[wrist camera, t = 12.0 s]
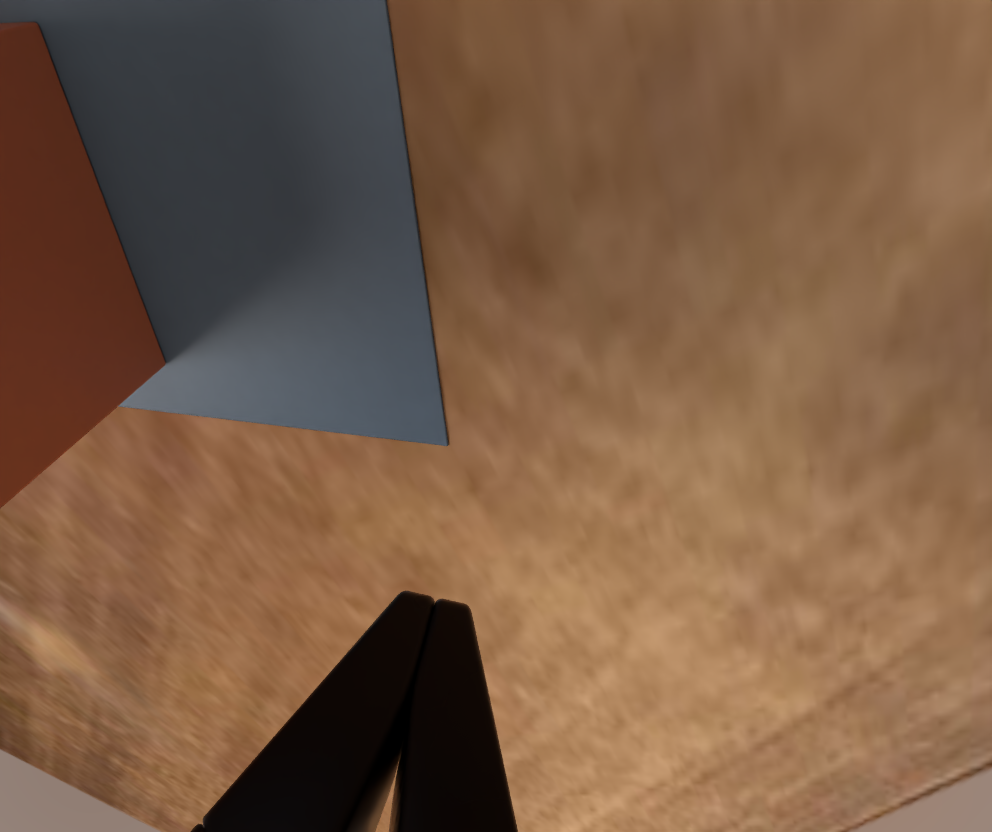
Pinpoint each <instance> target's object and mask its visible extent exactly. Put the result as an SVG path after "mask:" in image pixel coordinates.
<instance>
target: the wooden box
mask: <svg viewBox="0 0 992 832" xmlns="http://www.w3.org/2000/svg"><path fill="white" fill-rule="evenodd" d="M165 364H166V362H165V360H164V357H163V354H162V352H161V349H160V346H159V344H158V341H157V338H156V336H155V333H154V330H153V328H152V325H151V322H150V320H149V317H148V314H147V312H146V309H145V307H144V304H143V301H142V299H141V296H140V293H139V291H138V288H137V285H136V283H135V280H134V277H133V275H132V272H131V269H130V267H129V264H128V261H127V259H126V256H125V253H124V251H123V248H122V245H121V243H120V240H119V237H118V235H117V232H116V229H115V227H114V224H113V222H112V219H111V216H110V214H109V211H108V208H107V206H106V203H105V200H104V198H103V195H102V192H101V190H100V187H99V184H98V182H97V179H96V176H95V174H94V171H93V168H92V166H91V163H90V160H89V158H88V155H87V152H86V150H85V147H84V145H83V142H82V139H81V137H80V134H79V131H78V129H77V126H76V123H75V121H74V118H73V115H72V113H71V110H70V107H69V105H68V102H67V99H66V97H65V94H64V91H63V89H62V86H61V83H60V81H59V78H58V75H57V73H56V70H55V67H54V65H53V62H52V60H51V57H50V54H49V52H48V49H47V46H46V44H45V41H44V38H43V36H42V33H41V30H40V28H39V25H38V24H37V23H35V22H18V23H0V508H1V507H2V506H4V505H5V504H6V503H7V502H8V501H9V500H11V499H12V498H13V497H14V496H15V495H16V494H17V493H19V492H20V491H21V490H22V489H23V488H24V487H26V486H27V485H28V484H29V483H30V482H31V481H32V480H34V479H35V478H36V477H37V476H38V475H39V474H40V473H42V472H43V471H44V470H45V469H46V468H47V467H49V466H50V465H51V464H52V463H53V462H54V461H55V460H57V459H58V458H59V457H60V456H61V455H62V454H64V453H65V452H66V451H67V450H68V449H69V448H70V447H72V446H73V445H74V444H75V443H76V442H77V441H79V440H80V439H81V438H82V437H83V436H84V435H85V434H87V433H88V432H89V431H90V430H91V429H92V428H93V427H95V426H96V425H97V424H98V423H99V422H100V421H102V420H103V419H104V418H105V417H106V416H107V415H108V414H110V413H111V412H112V411H113V410H114V409H115V408H117V407H118V406H119V405H120V404H121V403H122V402H123V401H125V400H126V399H127V398H128V397H129V396H130V395H132V394H133V393H134V392H135V391H136V390H137V389H138V388H140V387H141V386H142V385H143V384H144V383H145V382H147V381H148V380H149V379H150V378H151V377H152V376H153V375H155V374H156V373H157V372H158V371H159V370H160V369H161V368H163V367H164V366H165Z"/></svg>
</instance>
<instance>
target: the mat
mask: <svg viewBox="0 0 992 832" xmlns="http://www.w3.org/2000/svg"><path fill="white" fill-rule="evenodd" d="M18 22H35V23H37V24H38V25H39V28H40V30H41V33H42V36H43V38H44V41H45V44H46V46H47V49H48V52H49V54H50V57H51V60H52V62H53V65H54V67H55V70H56V73H57V75H58V78H59V81H60V83H61V86H62V89H63V91H64V94H65V97H66V99H67V102H68V105H69V107H70V110H71V113H72V115H73V118H74V121H75V123H76V126H77V129H78V131H79V134H80V137H81V139H82V142H83V145H84V147H85V150H86V152H87V155H88V158H89V160H90V163H91V166H92V168H93V171H94V174H95V176H96V179H97V182H98V184H99V187H100V190H101V192H102V195H103V198H104V200H105V203H106V206H107V208H108V211H109V214H110V216H111V219H112V222H113V224H114V227H115V229H116V232H117V235H118V237H119V240H120V243H121V245H122V248H123V251H124V253H125V256H126V259H127V261H128V264H129V267H130V269H131V272H132V275H133V277H134V280H135V283H136V285H137V288H138V291H139V293H140V296H141V299H142V301H143V304H144V307H145V309H146V312H147V314H148V317H149V320H150V322H151V325H152V328H153V330H154V333H155V336H156V338H157V341H158V344H159V346H160V349H161V352H162V354H163V357H164V360H165V362H166V364H165V366H164V367H163V368H161V369H160V370H159V371H158V372H157V373H156V374H155V375H153V376H152V377H151V378H150V379H149V380H148V381H147V382H145V383H144V384H143V385H142V386H141V387H140V388H138V389H137V390H136V391H135V392H134V393H133V394H132V395H130V396H129V397H128V398H127V399H126V400H125V401H123V402H122V403H121V404H120V405H119V406H120V407H128V408H137V409H145V410H153V411H162V412H170V413H178V414H186V415H195V416H203V417H211V418H220V419H228V420H236V421H244V422H253V423H261V424H269V425H278V426H286V427H294V428H302V429H311V430H319V431H327V432H336V433H344V434H352V435H360V436H369V437H377V438H385V439H394V440H402V441H410V442H418V443H427V444H435V445H443V446H448V445H449V444H448V437H447V430H446V422H445V415H444V408H443V401H442V394H441V387H440V379H439V372H438V365H437V358H436V351H435V343H434V336H433V329H432V322H431V315H430V308H429V300H428V293H427V286H426V279H425V272H424V265H423V257H422V250H421V243H420V236H419V229H418V221H417V214H416V207H415V200H414V193H413V186H412V178H411V171H410V164H409V157H408V150H407V143H406V135H405V128H404V121H403V114H402V107H401V99H400V92H399V85H398V78H397V71H396V64H395V56H394V49H393V42H392V35H391V28H390V21H389V13H388V6H387V0H0V23H18Z"/></svg>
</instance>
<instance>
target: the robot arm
mask: <svg viewBox="0 0 992 832" xmlns="http://www.w3.org/2000/svg"><path fill="white" fill-rule="evenodd" d="M434 604H435V605H434ZM398 762H399V764H398ZM397 766H398V770H397ZM396 770H397V775H396V781H395V788H394V795H393V802H392V810H391V819H390V827H389V832H518V830H517V825H516V820H515V816H514V811H513V806H512V801H511V797H510V792H509V787H508V782H507V778H506V773H505V768H504V764H503V759H502V754H501V749H500V745H499V740H498V735H497V731H496V726H495V721H494V716H493V712H492V707H491V702H490V697H489V693H488V688H487V683H486V679H485V674H484V669H483V664H482V660H481V655H480V650H479V646H478V641H477V636H476V631H475V627H474V622H473V617H472V613H471V610H470V608H469V606H468V605H466V604H464V603H459V602H455V601H450V600H446V599H439V600H437V601H436V602H435V601H434V599H433V598H432V597H431V596H428V595H424V594H419V593H415V592H410V591H403V592H401V593H400V594H398V595H397V596H396V598H395V599H394V600H393V601H392V602H391V603H390V604H389V606H388V607H387V608H386V609H385V610H384V611H383V612H382V614H381V615H380V616H379V617H378V618H377V619H376V620H375V622H374V623H373V624H372V625H371V626H370V627H369V628H368V630H367V631H366V632H365V633H364V634H363V635H362V636H361V638H360V639H359V640H358V641H357V642H356V643H355V645H354V646H353V647H352V648H351V649H350V650H349V651H348V653H347V654H346V655H345V656H344V657H343V658H342V659H341V661H340V662H339V663H338V664H337V665H336V666H335V667H334V669H333V670H332V671H331V672H330V673H329V674H328V675H327V677H326V678H325V679H324V680H323V681H322V682H321V683H320V685H319V686H318V687H317V688H316V689H315V690H314V691H313V693H312V694H311V695H310V696H309V697H308V698H307V699H306V701H305V702H304V703H303V704H302V705H301V706H300V707H299V709H298V710H297V711H296V712H295V713H294V714H293V715H292V717H291V718H290V719H289V720H288V721H287V722H286V724H285V725H284V726H283V727H282V728H281V729H280V730H279V732H278V733H277V734H276V735H275V736H274V737H273V738H272V740H271V741H270V742H269V743H268V744H267V745H266V746H265V748H264V749H263V750H262V751H261V752H260V753H259V754H258V756H257V757H256V758H255V759H254V760H253V761H252V762H251V764H250V765H249V766H248V767H247V768H246V769H245V770H244V772H243V773H242V774H241V775H240V776H239V777H238V778H237V780H236V781H235V782H234V783H233V784H232V785H231V786H230V788H229V789H228V790H227V791H226V792H225V793H224V795H223V796H222V797H221V798H220V799H219V800H218V801H217V803H216V804H215V805H214V806H213V807H212V808H211V809H210V811H209V812H208V813H207V814H206V815H205V816H204V818H203V825H202V824H198V825H196V826H195V827H194V828H193V829H192V831H191V832H375V831H376V828H377V825H378V822H379V820H380V817H381V814H382V812H383V809H384V806H385V803H386V801H387V798H388V795H389V792H390V789H391V786H392V783H393V780H394V777H395V773H396Z"/></svg>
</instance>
